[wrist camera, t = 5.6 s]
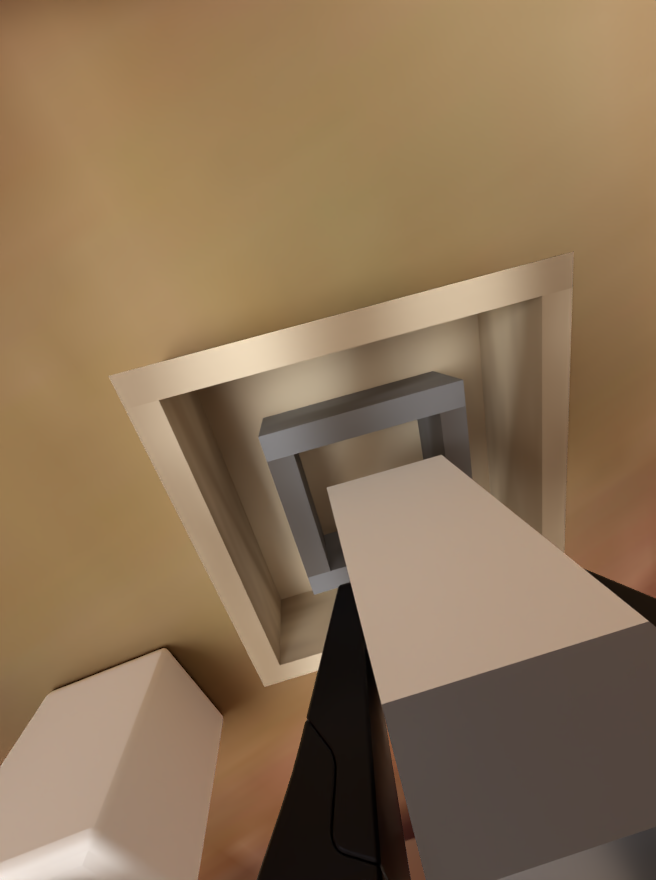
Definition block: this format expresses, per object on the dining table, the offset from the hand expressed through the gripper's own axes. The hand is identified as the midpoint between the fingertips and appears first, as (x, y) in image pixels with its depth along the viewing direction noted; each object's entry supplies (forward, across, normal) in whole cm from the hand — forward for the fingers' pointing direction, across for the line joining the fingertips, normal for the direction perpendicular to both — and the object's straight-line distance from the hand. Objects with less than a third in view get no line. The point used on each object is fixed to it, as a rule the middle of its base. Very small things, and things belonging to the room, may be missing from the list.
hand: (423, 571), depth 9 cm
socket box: (+7, 0, 0) cm, 7 cm away
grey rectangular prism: (+2, 0, 0) cm, 2 cm away
